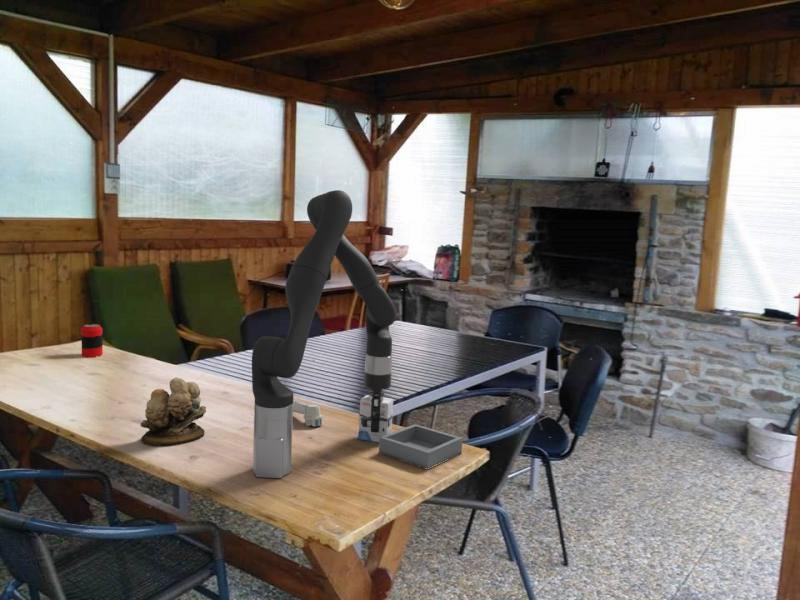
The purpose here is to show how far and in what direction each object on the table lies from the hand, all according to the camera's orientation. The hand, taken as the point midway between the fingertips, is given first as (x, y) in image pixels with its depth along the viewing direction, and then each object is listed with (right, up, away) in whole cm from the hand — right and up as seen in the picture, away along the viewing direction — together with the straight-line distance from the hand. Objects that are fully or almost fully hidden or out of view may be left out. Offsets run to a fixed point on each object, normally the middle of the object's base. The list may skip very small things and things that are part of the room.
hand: (375, 428), depth 198 cm
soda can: (-114, +14, +79) cm, 140 cm away
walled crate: (+13, -5, -9) cm, 16 cm away
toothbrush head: (-25, 0, +17) cm, 30 cm away
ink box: (0, -3, 0) cm, 3 cm away
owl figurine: (-54, -2, -7) cm, 55 cm away
